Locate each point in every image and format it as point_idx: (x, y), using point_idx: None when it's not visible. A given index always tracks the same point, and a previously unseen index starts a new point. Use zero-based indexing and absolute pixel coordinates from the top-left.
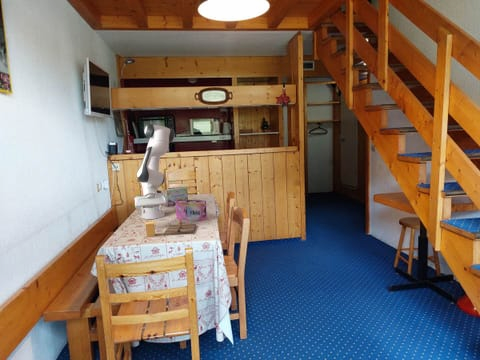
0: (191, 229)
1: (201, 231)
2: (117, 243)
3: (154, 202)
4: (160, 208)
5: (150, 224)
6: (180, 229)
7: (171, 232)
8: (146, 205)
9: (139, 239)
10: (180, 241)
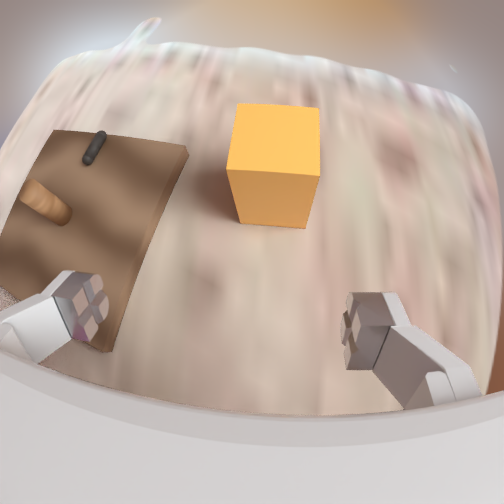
0: (40, 164)
1: (23, 162)
2: (454, 141)
3: (16, 411)
4: (38, 327)
5: (272, 110)
6: (74, 186)
7: (139, 141)
8: (330, 418)
9: (351, 143)
10: (150, 57)
